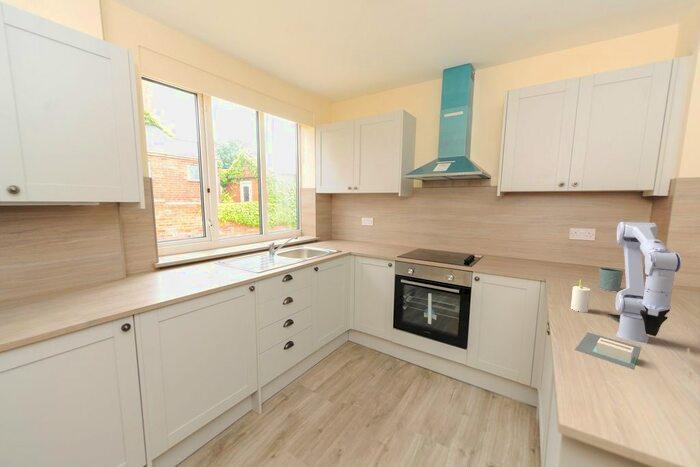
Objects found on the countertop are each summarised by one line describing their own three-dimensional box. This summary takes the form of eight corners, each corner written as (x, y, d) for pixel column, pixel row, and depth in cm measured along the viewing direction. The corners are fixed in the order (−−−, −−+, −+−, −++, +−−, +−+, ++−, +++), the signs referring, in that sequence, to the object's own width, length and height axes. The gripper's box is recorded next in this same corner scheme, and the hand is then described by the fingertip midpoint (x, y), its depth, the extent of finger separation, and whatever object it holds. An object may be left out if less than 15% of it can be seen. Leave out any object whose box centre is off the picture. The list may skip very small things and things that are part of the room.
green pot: (623, 293, 152) (625, 272, 151) (599, 290, 157) (601, 270, 156) (618, 288, 160) (620, 268, 159) (595, 285, 166) (597, 266, 164)
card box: (632, 357, 87) (633, 347, 87) (630, 363, 84) (631, 352, 84) (599, 347, 93) (600, 337, 93) (595, 352, 90) (597, 341, 90)
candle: (592, 312, 126) (595, 280, 124) (580, 312, 125) (583, 281, 123) (578, 306, 132) (582, 276, 130) (567, 307, 131) (570, 277, 129)
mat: (587, 333, 104) (588, 332, 104) (640, 349, 94) (641, 347, 94) (574, 351, 92) (574, 349, 92) (633, 371, 81) (633, 369, 81)
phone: (634, 329, 107) (606, 313, 122) (633, 331, 107) (606, 316, 122) (658, 331, 106) (627, 315, 120) (657, 333, 106) (627, 317, 120)
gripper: (642, 282, 93) (637, 320, 94) (636, 291, 84) (630, 333, 85) (674, 288, 87) (668, 328, 89) (671, 297, 78) (664, 342, 80)
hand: (652, 331), depth 87 cm, fingers open, 7 cm apart
